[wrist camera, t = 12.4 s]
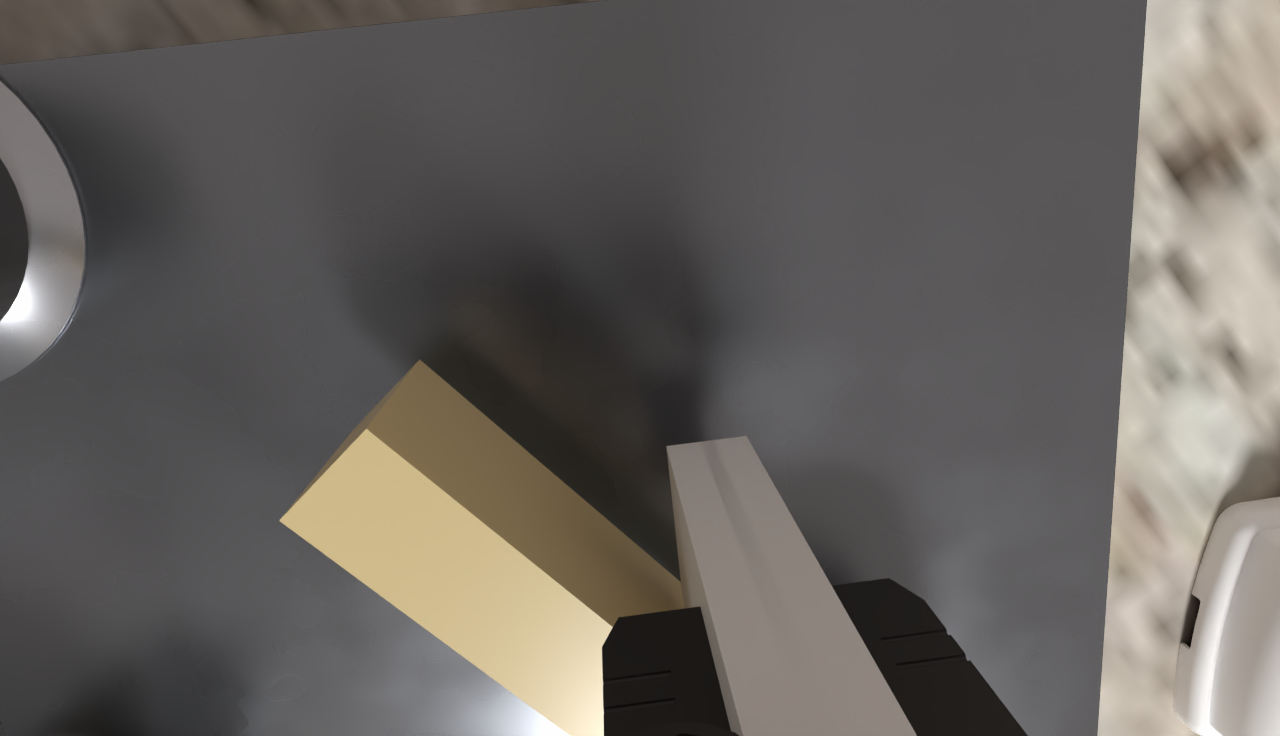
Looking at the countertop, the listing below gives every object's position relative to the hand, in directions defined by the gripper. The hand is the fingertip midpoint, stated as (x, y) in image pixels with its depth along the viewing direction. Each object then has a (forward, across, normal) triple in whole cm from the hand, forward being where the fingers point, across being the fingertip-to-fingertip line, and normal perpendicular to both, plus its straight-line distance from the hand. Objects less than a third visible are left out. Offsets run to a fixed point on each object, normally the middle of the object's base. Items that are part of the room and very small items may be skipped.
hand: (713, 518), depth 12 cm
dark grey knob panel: (+4, -6, -1) cm, 7 cm away
